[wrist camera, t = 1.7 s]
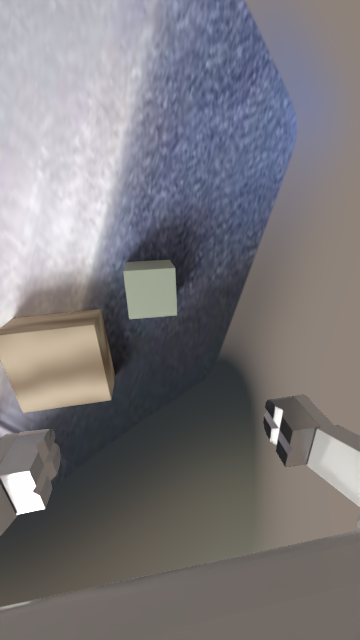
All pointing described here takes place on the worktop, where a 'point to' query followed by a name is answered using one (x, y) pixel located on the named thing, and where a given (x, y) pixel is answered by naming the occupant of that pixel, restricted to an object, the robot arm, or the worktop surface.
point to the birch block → (57, 359)
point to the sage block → (150, 288)
